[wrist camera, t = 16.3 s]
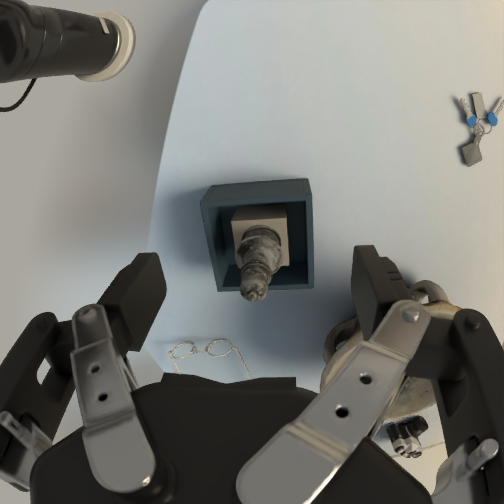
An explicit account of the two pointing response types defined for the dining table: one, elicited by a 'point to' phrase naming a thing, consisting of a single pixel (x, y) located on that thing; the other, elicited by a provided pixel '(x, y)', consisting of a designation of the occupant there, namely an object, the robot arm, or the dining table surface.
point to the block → (262, 223)
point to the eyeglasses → (205, 352)
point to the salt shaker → (258, 260)
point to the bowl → (415, 389)
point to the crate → (255, 194)
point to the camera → (407, 437)
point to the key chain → (472, 150)
